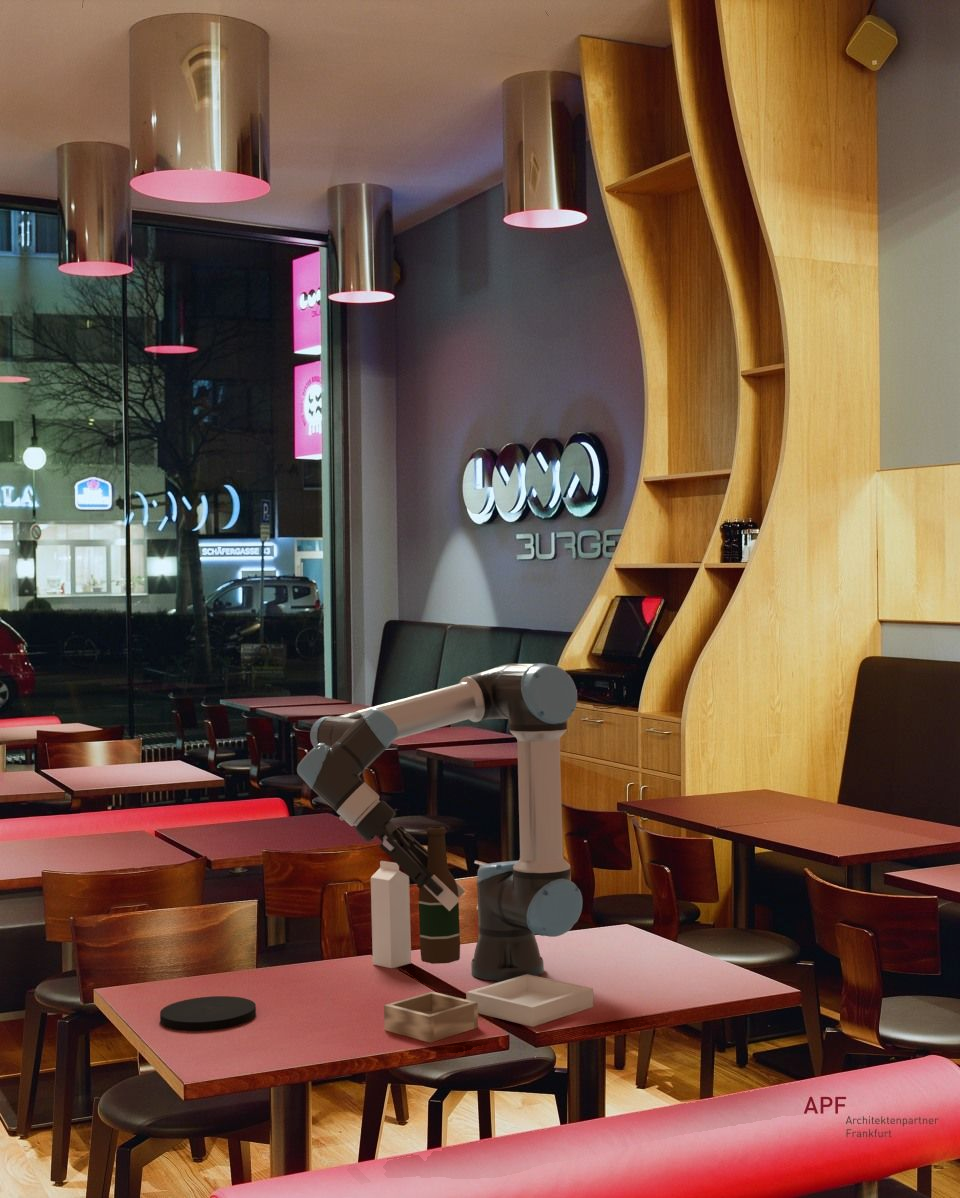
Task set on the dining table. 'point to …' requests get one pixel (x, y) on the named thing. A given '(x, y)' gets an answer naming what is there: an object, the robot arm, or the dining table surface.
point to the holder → (431, 1016)
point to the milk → (390, 916)
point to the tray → (531, 999)
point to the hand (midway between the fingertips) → (457, 900)
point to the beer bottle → (438, 907)
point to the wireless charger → (207, 1013)
